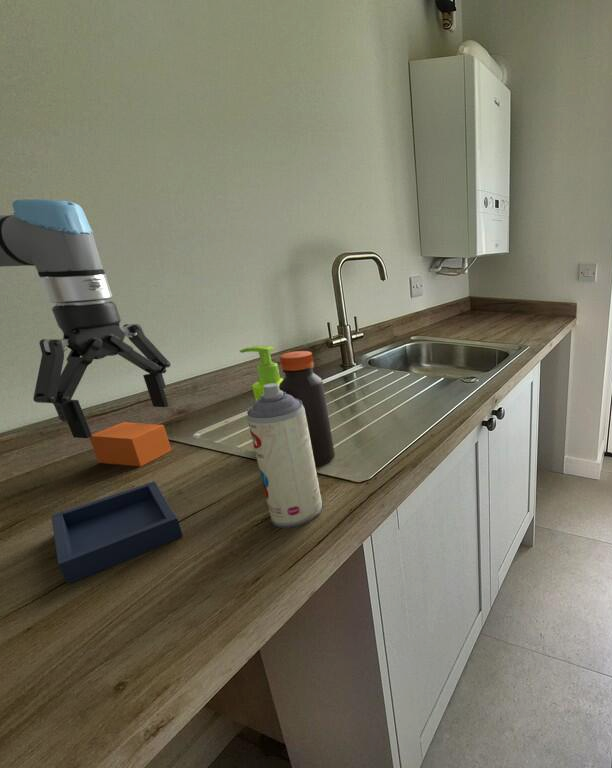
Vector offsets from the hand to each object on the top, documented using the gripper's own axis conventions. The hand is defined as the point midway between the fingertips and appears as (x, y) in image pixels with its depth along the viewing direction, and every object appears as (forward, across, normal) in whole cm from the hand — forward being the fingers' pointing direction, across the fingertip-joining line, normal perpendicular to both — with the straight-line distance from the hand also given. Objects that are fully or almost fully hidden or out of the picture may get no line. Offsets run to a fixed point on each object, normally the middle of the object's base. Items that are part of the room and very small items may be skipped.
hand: (125, 420), depth 74 cm
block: (+7, 0, 0) cm, 7 cm away
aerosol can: (+8, -11, -41) cm, 43 cm away
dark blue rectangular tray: (+8, -19, -20) cm, 28 cm away
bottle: (+8, +4, -34) cm, 35 cm away
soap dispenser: (+8, +8, -24) cm, 26 cm away
